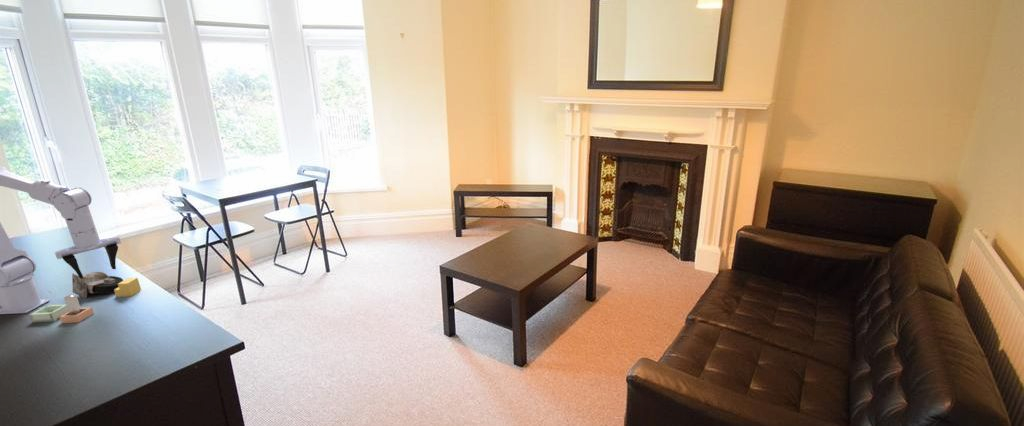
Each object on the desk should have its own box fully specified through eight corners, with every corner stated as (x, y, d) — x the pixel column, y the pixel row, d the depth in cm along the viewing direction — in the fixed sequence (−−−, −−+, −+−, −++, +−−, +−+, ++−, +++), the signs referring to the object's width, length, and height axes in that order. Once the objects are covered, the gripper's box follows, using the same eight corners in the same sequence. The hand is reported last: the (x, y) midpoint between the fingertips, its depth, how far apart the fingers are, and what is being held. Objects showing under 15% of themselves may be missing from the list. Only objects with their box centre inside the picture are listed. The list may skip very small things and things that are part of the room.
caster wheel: (129, 293, 157) (94, 304, 147) (105, 283, 160) (70, 293, 151) (129, 275, 155) (94, 284, 146) (105, 265, 158) (70, 273, 149)
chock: (116, 297, 149) (111, 284, 148) (126, 291, 153) (121, 278, 152) (132, 296, 149) (127, 283, 148) (141, 290, 153) (137, 277, 152)
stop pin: (69, 320, 136) (61, 298, 134) (77, 316, 138) (69, 294, 136) (78, 320, 136) (70, 298, 133) (86, 315, 138) (78, 294, 136)
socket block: (61, 323, 135) (59, 316, 134) (77, 314, 139) (74, 308, 139) (79, 322, 134) (76, 316, 134) (93, 313, 139) (91, 307, 139)
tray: (32, 322, 136) (29, 314, 135) (49, 312, 141) (46, 305, 140) (54, 321, 136) (51, 313, 135) (71, 311, 141) (68, 304, 140)
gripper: (51, 240, 130) (68, 285, 134) (117, 225, 140) (130, 267, 144) (47, 235, 134) (64, 279, 138) (111, 221, 145) (125, 262, 149)
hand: (97, 272), depth 142 cm, fingers open, 7 cm apart
